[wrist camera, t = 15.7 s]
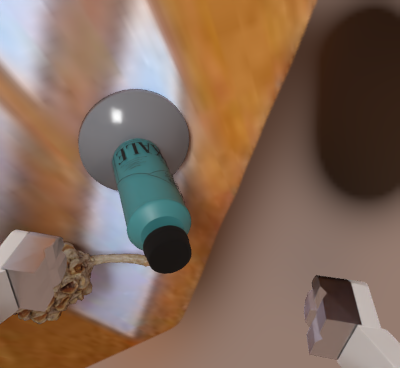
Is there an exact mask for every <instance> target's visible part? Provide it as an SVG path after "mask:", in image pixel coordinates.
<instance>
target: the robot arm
mask: <svg viewBox="0 0 400 368" xmlns="http://www.w3.org/2000/svg"><path fill="white" fill-rule="evenodd" d="M63 247H64V242H63V238H61V237H58V236H52V235H46V234H41V233H35V232H28V231H22V230H14V231H12V232H11V233H10V234H9V236H8V237H7V238H6V239H5V241H4V242H3V243H2V244H1V246H0V324H1V323H2V322H3V321H5V320H6V319H7V318H9V317H10V316H11V315H13V314H14V313H15V312H17V311H18V310H19V309H18V308H20V309H28V310H35V311H43V312H45V311H46V309H47V307H48V305H49V303H50V302H51V300H52V298H53V296H54V290H53V288H54V287H55V286H57V285H58V284H60V283H61V281H62V279H63V277H64V275H65V271H66V268H67V257H66V254H65V253H64V252H63V251H62V248H63ZM312 287H313V290H311V291H309V292H308V294H307V297H306V300H305V307H304V314H305V322H306V323H307V324H308V326H309V327H310V328H309V331H308V333H307V340H308V348H309V354H310V355H314V356H320V357H325V358H330V359H335V360H337V362H338V363H339V365H340V366H341V368H400V343H399V342H398V341H397V340H396V339H395V338H394V337H393V336H392V335H391V334H390V333H389V332H388V331H387V330H386V329H381V326H380V323H379V319H378V317H377V313H376V310H375V307H374V303H373V300H372V297H371V294H370V290H369V288H368V285H367V284H366V282H360V281H353V280H347V279H340V278H333V277H326V276H318V275H316V276H315V277H314V279H313V281H312Z"/></svg>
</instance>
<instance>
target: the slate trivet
mask: <svg viewBox="0 0 400 368" xmlns="http://www.w3.org/2000/svg"><path fill="white" fill-rule="evenodd" d="M135 138H141V139H146V140H149V141H150V142H152V143H153V144H154V143H155V145H156V146H157V147H158V149H159V150H160V152H161V154H162V156H163V159H164V158H165V159H164V160H165V161H166V162H165V163H166V164H167V165H168V167H169V169H170V170H169V169H168V170H169V172H170V174H171V173H172V174H171V176H172V175H173V174H175V172H176V171H177V170H178V169H179V167H180V166H181V164H182V163H183V161H184V159H185V157H186V154H187V151H188V146H189V132H188V127H187V124H186V121H185V119H184V118H183V116H182V114H181V113H180V111H179V110H178V109H177V107H176V106H175V105H174V104H173V103H172V102H171V101H169V100H168V99H167V98H165V97H164V96H162V95H160V94H158V93H155V92H152V91H148V90H142V89H129V90H122V91H119V92H115V93H113V94H111V95H108V96H107V97H105V98H103V99H102V100H100V101H99V102H98V103H96V104H95V105H94V106H93V107H92V108H91V109H90V111H89V112H88V113H87V115H86V116H85V118H84V120H83V122H82V125H81V127H80V131H79V138H78V144H79V153H80V157H81V160H82V163H83V165H84V167H85V169H86V170H87V172H88V173H89V174H90V175H91V176H92V177H93V178H94V179H95V180H96V181H98V182H99V183H100V184H102V185H104V186H106V187H108V188H111V189H113V190H116V187H117V183H116V179H115V175H114V171H113V170H112V169H113V168H111V167H113V166H112V165H111V163H112V160H111V159H113V155H114V153H115V150H116V149H117V148H118V147H119V146H120V145H121V144H122V143H124V142H125V141H127V140H130V139H135ZM114 179H115V181H114ZM117 190H118V188H117Z"/></svg>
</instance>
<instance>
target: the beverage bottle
mask: <svg viewBox="0 0 400 368" xmlns="http://www.w3.org/2000/svg"><path fill="white" fill-rule="evenodd" d="M164 159H165V158H164ZM164 159H163V156H162V154H161V152H160V150H159V149H158V147H157V146H156V145H155V143H154V144H153V143H152V142H150V141H149V140H146V139H141V138H135V139H130V140H127V141H125V142H124V143H122V144H121V145H120V146H119V147H118V148H117V149H116V150H115V153H114V155H113V159H111V160H112V163H111V165H112V166H113V167H111V168H113V169H112V170H113V171H114V175H115V179H116V183H117V187H116V190H117V188H118V192H119V194H120V199H121V203H122V208H123V212H124V217H125V221H126V226H127V234H128V237H129V239H130V241H131V242H132V243H133V244H134V245H135V246H136V247H137V248H139V249H141V250H143V251H144V254H145V257H146V258H147V261H148V263H149V265H150V267H151V268H152V269H153V270H154V271H156V272H158V273H164V274H167V273H173V272H176V271H178V270H180V269H182V268H183V267H184V266H185V265H186V264H187V263H188V262H189V260H190V258H191V247H190V244H189V239H188V236H187V234H188V232H189V230H190V227H191V217H190V213H189V211H188V210H187V208H186V207H185V203H184V202H183V199H182V197H183V196H182V197H181V195H182V194H181V193H179V191H178V190H179V188H178V187H177V186H178V185H175V184H176V183H175V182H176V181H175V182H174V180H173V178H172V176H171V174H172V173H171V174H170V172H169V170H170V169H169V167H168V165H167V164H166V163H165V162H166V161H165V160H164ZM168 169H169V170H168ZM115 179H114V181H115ZM177 188H178V189H177ZM180 194H181V195H180Z"/></svg>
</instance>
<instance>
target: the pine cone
mask: <svg viewBox="0 0 400 368" xmlns="http://www.w3.org/2000/svg"><path fill="white" fill-rule="evenodd" d="M62 251H63V252H64V253H65V254H66V257H67V268H66V271H65V275H64V277H63V279H62V281H61V283H60V284H58V285H57V286H55V287H54V288H53V290H54V296H53V298H52V300H51V302H50V303H49V305H48V307H47V309H46V311H45V312H43V311H35V310H28V309H20V308H18V309H19V310H18V311H17V312H15V313H14V314H13V315H16V314H17V313H18V317H19V318H20V319H23V320H24V321H26V320H29V319H32V320H33V321H34V322H36V323H38V324H41V323H44V322H45V321H46V320H47V319H48V320H51V321H53V320H57V319H58V318H59V317H60V316H61V312H62V311H65V310H66V309H67V306H68V305H69V304H75V303H76V302H77V300H81V301H82V300H83V299H84V296H83V295H87V294H89V293H91V291H92V284H91V282H90V277H91V271H92V269H93V266H94V265H97V264H102V263H110V262H114V263H117V262H123V263H126V262H127V263H135V264H139V265H144V266H145V267H146V266H150V265H149V263H148V261H147V258H146V257H145V256H144V255H139V254H109V255H93V256H90V255H89V254H86V253H83V252H82V251H78V250H76V249H75V248H74V247H73V244H71V243H68V242H65V243H64V247H63V248H62Z"/></svg>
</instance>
